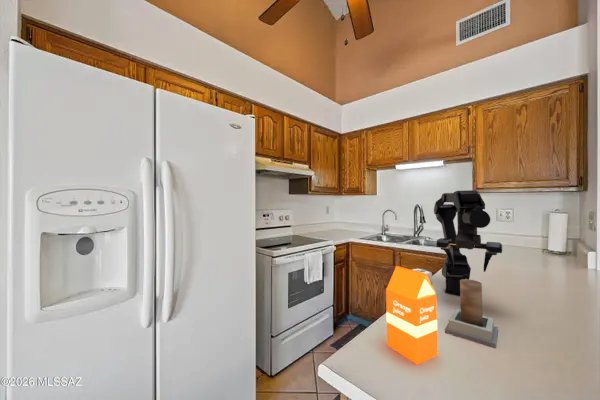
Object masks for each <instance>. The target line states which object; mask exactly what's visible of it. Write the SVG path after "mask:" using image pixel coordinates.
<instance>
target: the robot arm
mask: <svg viewBox="0 0 600 400" xmlns="http://www.w3.org/2000/svg"><path fill="white" fill-rule="evenodd" d="M445 203H446V204H445ZM448 203H449V204H448ZM450 203H452V204H450ZM485 210H486V203H485V201H484V199H483V198H482V196H481V193H479V191H478V190H475V189H471V190H470V189H469V190H455V191H454V192H445V193H442V194H441V197H440V198H439V199H437V201H435V203H434V207H433V213H434V215H435V218H436V220H437V221H438V222H439V223H440V224H441V228H442V233H443V237H441V238H438V239H437V240H436V244H435V245H436V247H437V248H440V250H442V251H444V252H445V254H446V257H445V258H444V262H443V265H442V268H441V275H442V276H443V278H445V290H444V293H447V294H449V295H450V294H451V295H456V296H460V280H462V279H469V280H470V277H471V271H472V268H471V266H470V264H469V261H468V257H467V256H466V254H463V253H461V250H460V249H467V250H473V249H478V250H479V249H481V250H485V253H484V260H483V272H484V273H485V272H486V271H487V268H488V265H489V263H490V260H491V259H492V257H493V256H497V254H502V253H503V244H502V243H501V242H497V241H496V242H495V241H487V242H486V243H482V237H481V235H480V234H478V229H482V228H483V229H484V228H485V227H488V226H489V224H490V223H491V216H490V214H489V213H488V212H487V211H485ZM456 216H457V218H456ZM455 218H456V219H457V232H456V227H455V223H454V220H455Z"/></svg>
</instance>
